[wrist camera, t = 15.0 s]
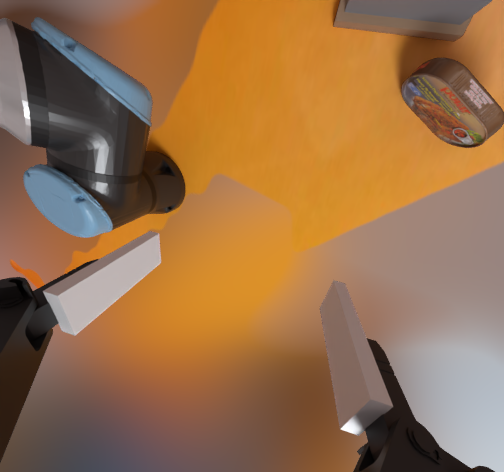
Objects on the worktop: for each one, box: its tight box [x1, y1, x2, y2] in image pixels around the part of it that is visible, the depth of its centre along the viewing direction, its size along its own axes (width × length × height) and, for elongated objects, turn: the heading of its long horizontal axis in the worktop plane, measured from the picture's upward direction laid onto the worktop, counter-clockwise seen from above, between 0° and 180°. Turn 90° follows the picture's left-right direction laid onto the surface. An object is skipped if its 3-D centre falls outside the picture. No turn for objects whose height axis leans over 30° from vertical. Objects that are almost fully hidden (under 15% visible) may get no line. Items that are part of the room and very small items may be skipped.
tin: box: [402, 58, 504, 148], centre depth 27 cm, size 15×3×8 cm, turn 53°
